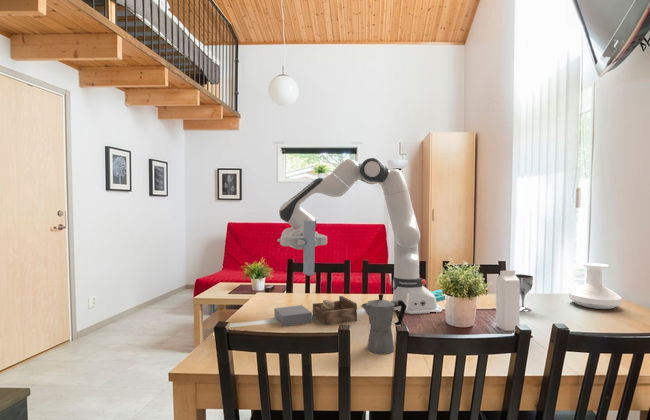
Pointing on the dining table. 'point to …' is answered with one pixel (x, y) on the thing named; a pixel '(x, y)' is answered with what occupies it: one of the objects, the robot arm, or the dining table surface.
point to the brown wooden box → (337, 312)
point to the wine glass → (524, 288)
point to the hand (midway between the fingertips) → (309, 242)
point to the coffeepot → (382, 324)
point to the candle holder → (595, 290)
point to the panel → (309, 248)
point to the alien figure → (438, 295)
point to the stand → (293, 315)
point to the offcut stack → (327, 305)
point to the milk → (507, 300)
